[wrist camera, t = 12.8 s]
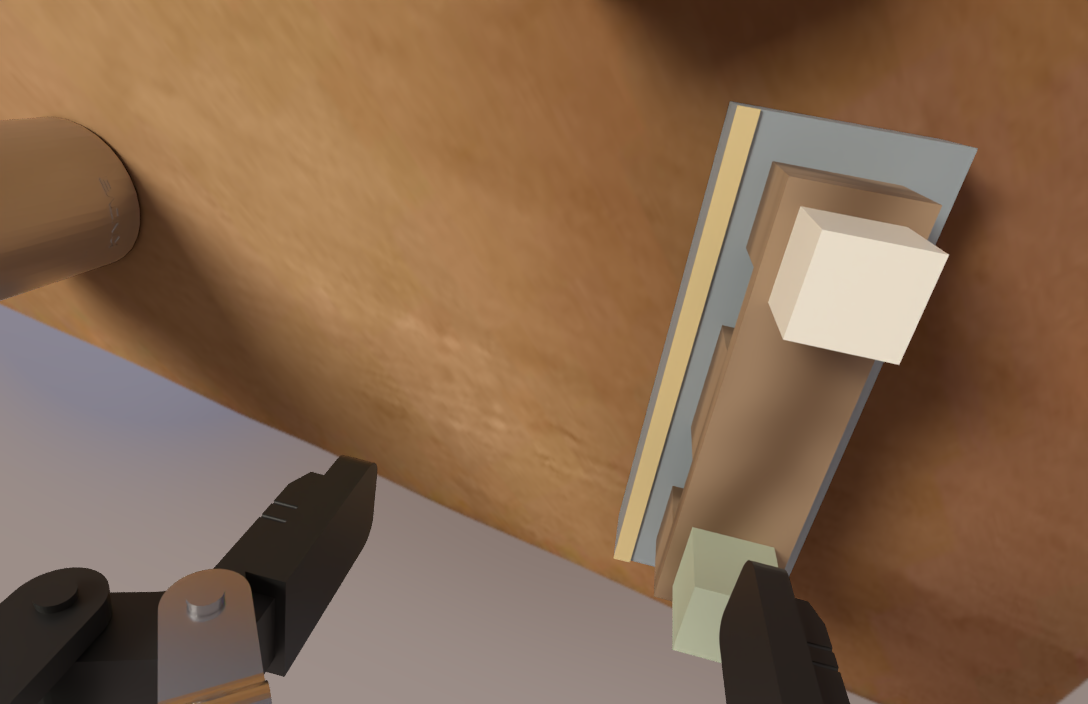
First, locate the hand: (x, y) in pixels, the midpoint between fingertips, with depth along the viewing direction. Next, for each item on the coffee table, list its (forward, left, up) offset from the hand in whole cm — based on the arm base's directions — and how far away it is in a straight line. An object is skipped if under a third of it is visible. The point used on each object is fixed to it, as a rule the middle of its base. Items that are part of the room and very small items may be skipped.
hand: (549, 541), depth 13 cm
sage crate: (+8, -13, -15) cm, 21 cm away
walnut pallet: (+8, -4, -20) cm, 22 cm away
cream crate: (+8, +4, -15) cm, 18 cm away
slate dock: (+8, -5, -24) cm, 26 cm away
